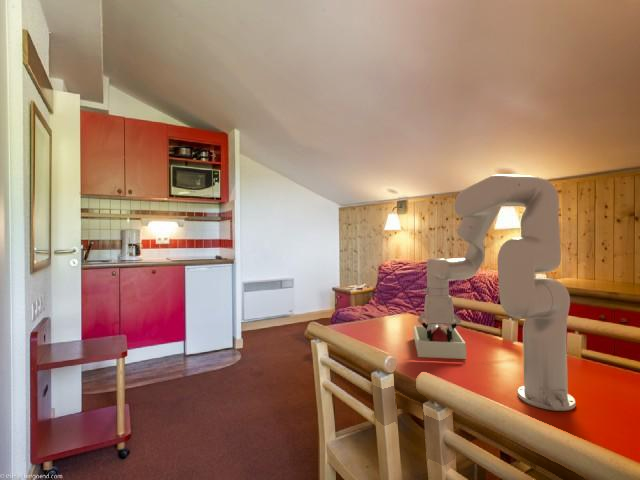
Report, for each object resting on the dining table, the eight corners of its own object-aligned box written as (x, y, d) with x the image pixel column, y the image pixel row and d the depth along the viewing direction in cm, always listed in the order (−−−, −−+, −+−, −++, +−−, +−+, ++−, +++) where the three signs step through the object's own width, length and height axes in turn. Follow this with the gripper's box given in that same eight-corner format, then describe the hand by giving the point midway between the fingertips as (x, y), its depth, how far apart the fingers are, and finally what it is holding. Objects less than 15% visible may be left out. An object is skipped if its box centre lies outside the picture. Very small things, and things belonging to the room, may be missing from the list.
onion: (449, 350, 123) (448, 328, 123) (432, 350, 124) (431, 328, 124) (446, 345, 128) (446, 324, 128) (430, 345, 129) (429, 324, 129)
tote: (466, 360, 119) (465, 343, 119) (418, 358, 122) (417, 341, 122) (454, 341, 140) (454, 326, 140) (414, 340, 143) (413, 325, 143)
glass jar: (445, 345, 133) (444, 322, 133) (428, 345, 134) (427, 322, 134) (443, 340, 139) (442, 318, 139) (426, 340, 141) (425, 318, 141)
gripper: (414, 293, 124) (415, 343, 124) (465, 293, 121) (466, 345, 121) (413, 290, 131) (414, 337, 131) (460, 290, 128) (462, 338, 128)
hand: (439, 340), depth 126 cm, fingers closed on onion, 5 cm apart
